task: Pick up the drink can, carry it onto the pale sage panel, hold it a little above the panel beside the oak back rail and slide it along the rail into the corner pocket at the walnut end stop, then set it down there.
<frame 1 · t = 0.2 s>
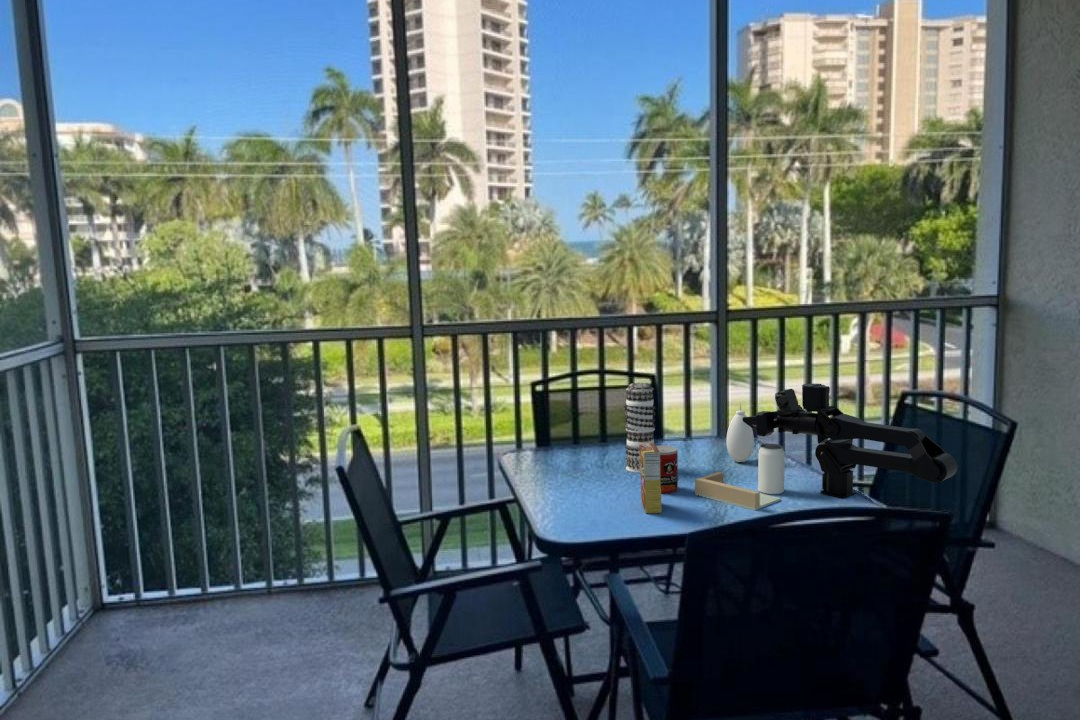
hand: (752, 417, 217), 16 cm above the table, tool horizontal, fingers open, 9 cm apart
can: (771, 492, 204), on the table
sauce bottle: (739, 462, 233), on the table
decorative candle: (640, 469, 229), on the table
cleat board: (738, 497, 200), on the table
candy box: (650, 508, 193), on the table
canned food: (663, 490, 208), on the table
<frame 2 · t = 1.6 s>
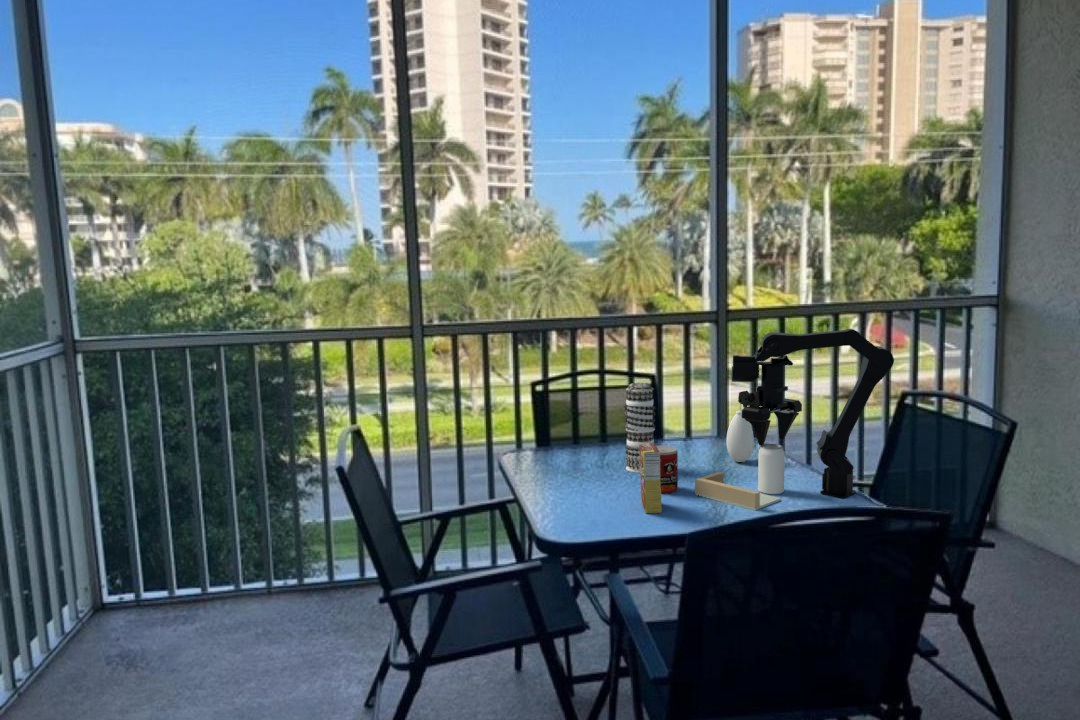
hand: (771, 442, 202), 13 cm above the table, tool pointing down, fingers open, 9 cm apart
nothing on the table moved.
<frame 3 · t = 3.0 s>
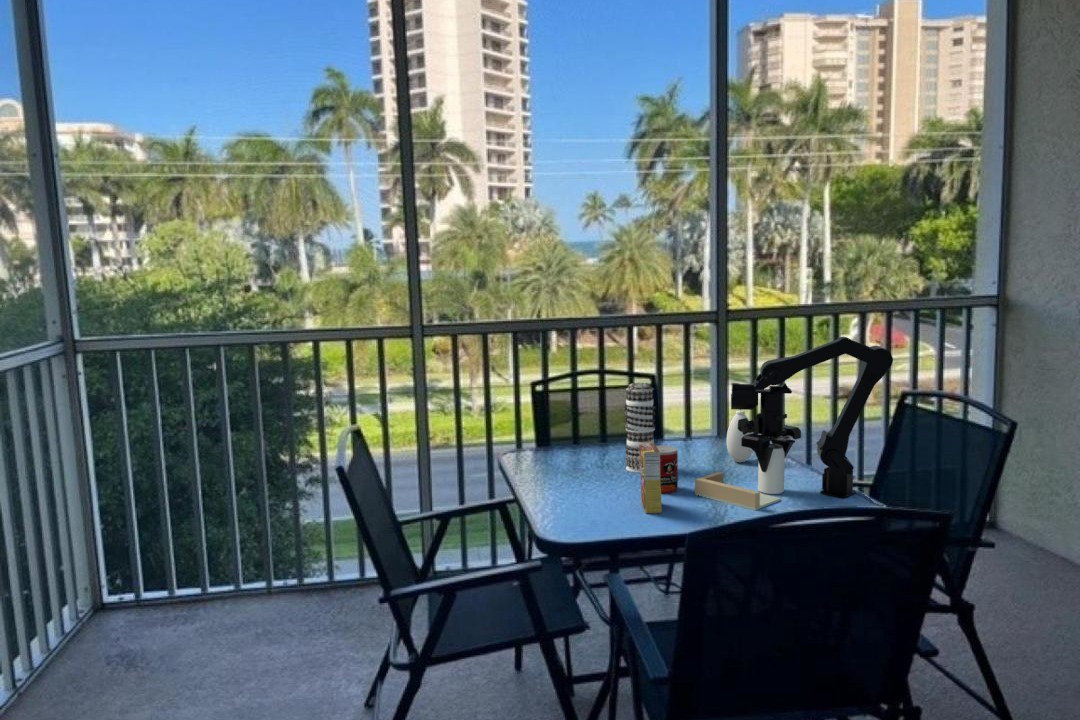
hand: (771, 469, 203), 6 cm above the table, tool pointing down, fingers closed on can, 6 cm apart
can: (771, 492, 204), on the table, touching gripper
everything else where it was.
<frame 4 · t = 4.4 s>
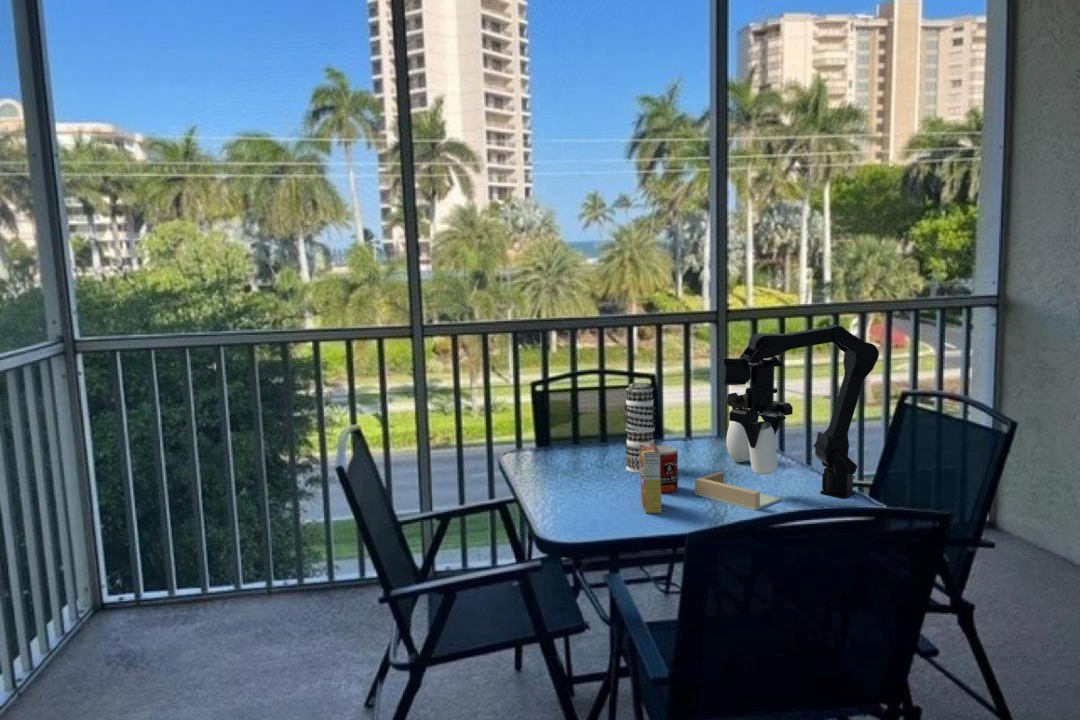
hand: (760, 445, 197), 13 cm above the table, tool pointing down, fingers closed on can, 6 cm apart
can: (765, 470, 199), point 7 cm above the table, touching gripper
everything else where it was.
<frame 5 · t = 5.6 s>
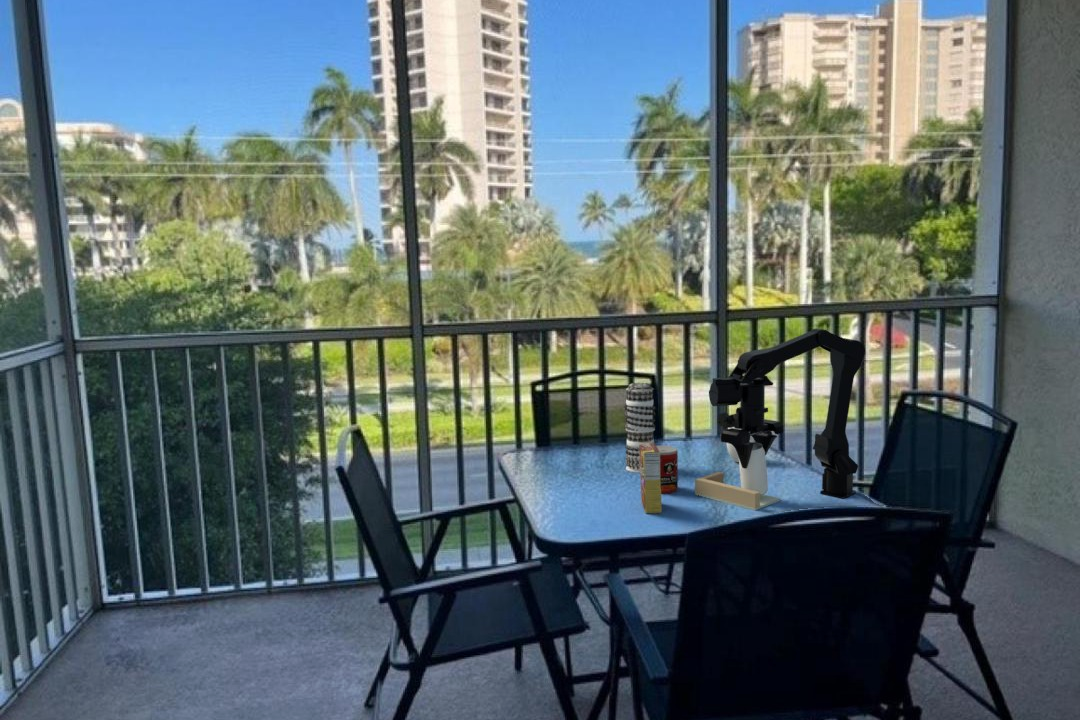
hand: (752, 465, 195), 9 cm above the table, tool pointing down, fingers closed on can, 6 cm apart
can: (754, 491, 197), point 2 cm above the table, touching gripper
everything else where it was.
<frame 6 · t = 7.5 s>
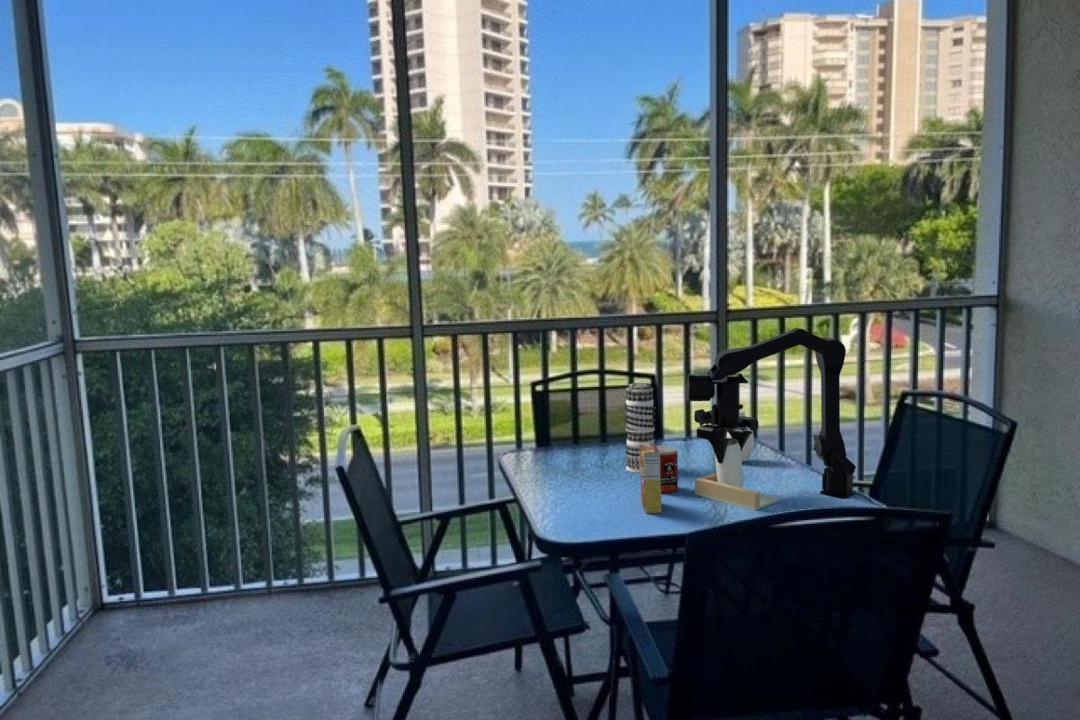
hand: (728, 460, 201), 9 cm above the table, tool pointing down, fingers closed on can, 6 cm apart
can: (731, 486, 203), point 2 cm above the table, touching gripper
everything else where it was.
when the fingers open (8 cm above the table, at t = 8.3 s): can stays where it is, resting on cleat board.
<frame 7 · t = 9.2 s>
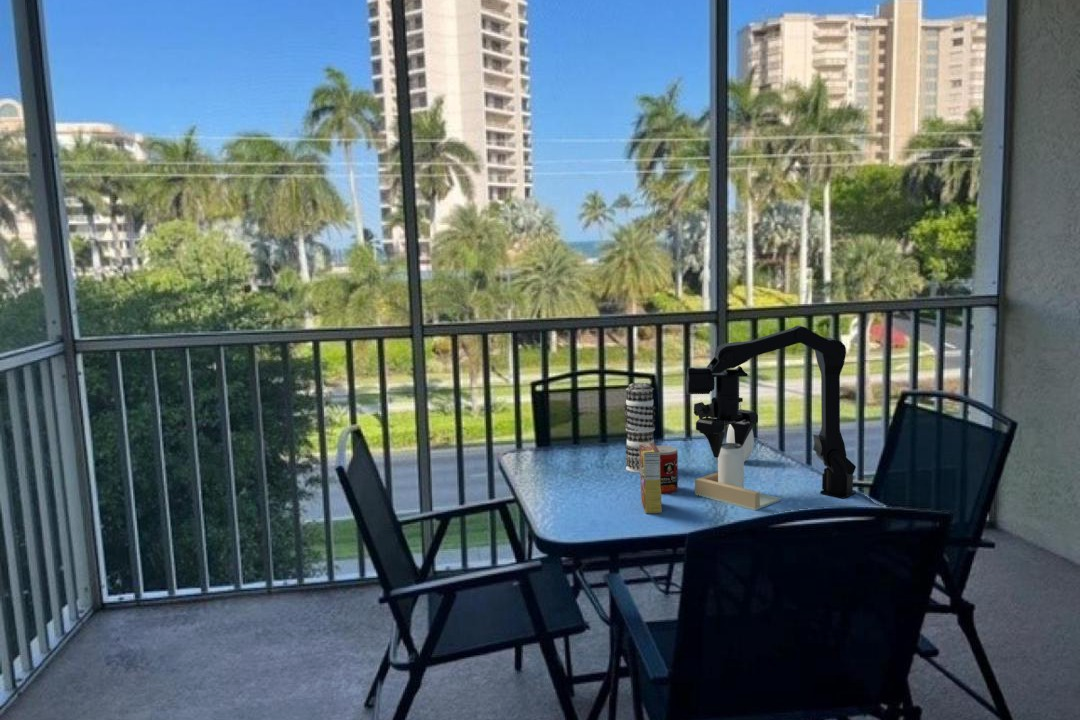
hand: (727, 454, 201), 11 cm above the table, tool pointing down, fingers open, 9 cm apart
can: (731, 491, 203), resting on cleat board, touching gripper
everything else where it was.
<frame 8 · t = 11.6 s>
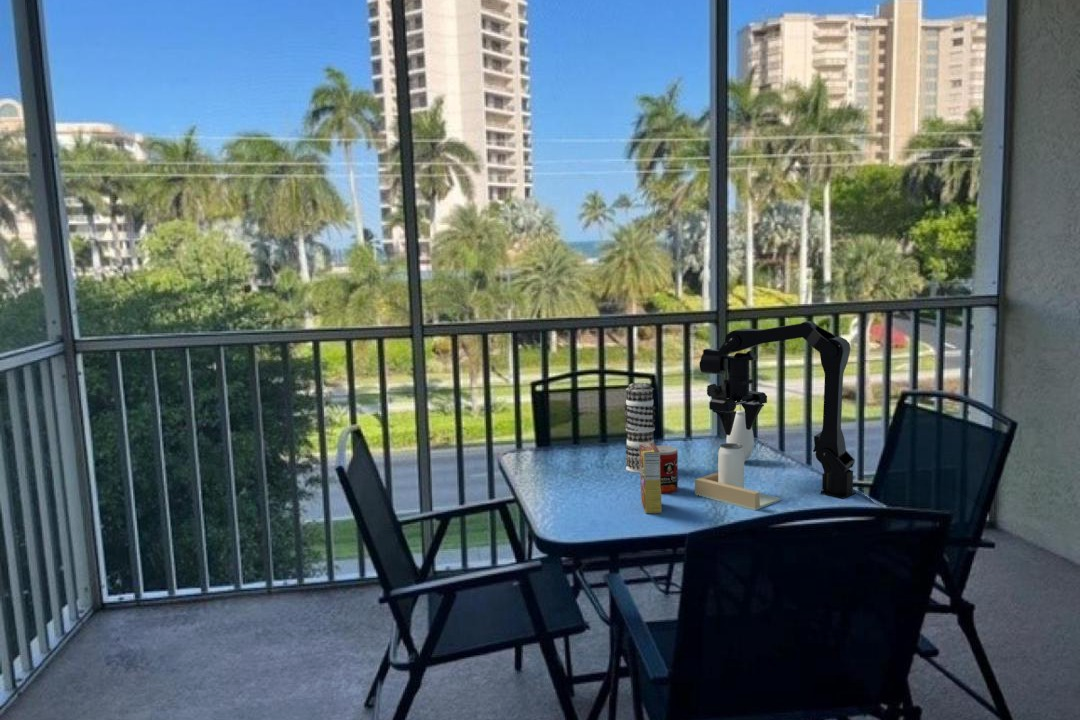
hand: (738, 432, 214), 13 cm above the table, tool pointing down, fingers open, 9 cm apart
can: (731, 491, 203), resting on cleat board
everything else where it was.
at the end: can 1.4 cm from the target spot, resting on cleat board; can tilted 0°; the gripper is holding nothing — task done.
